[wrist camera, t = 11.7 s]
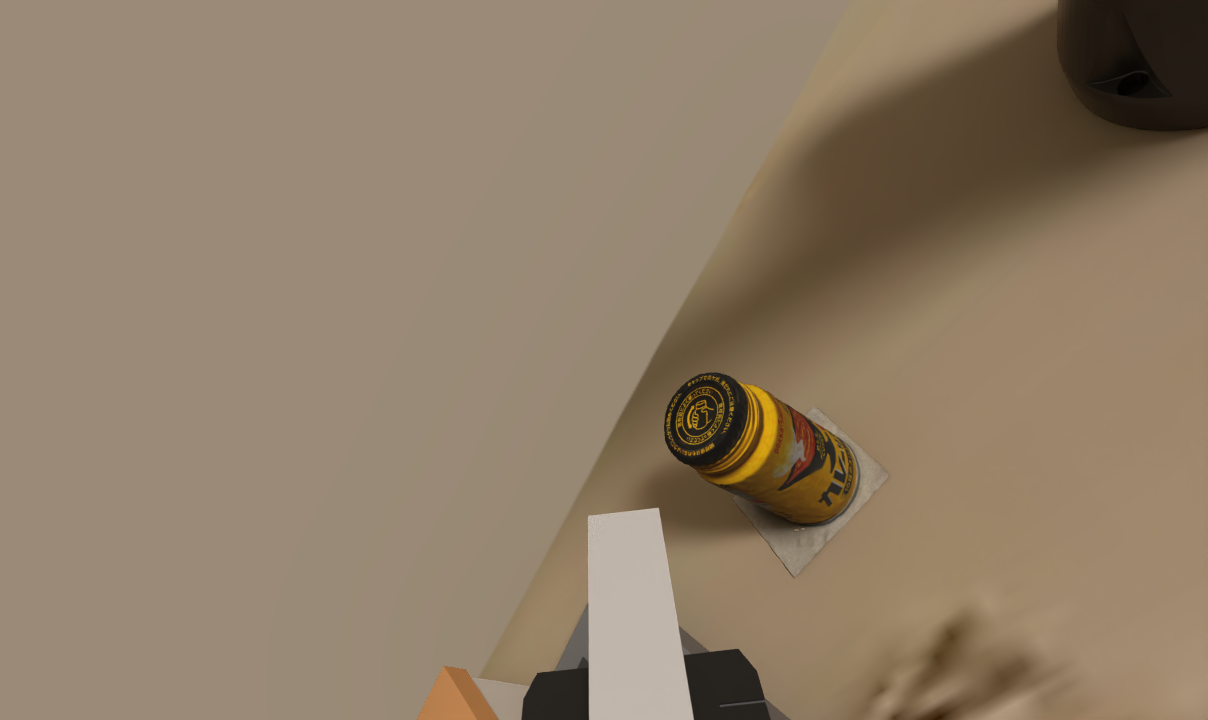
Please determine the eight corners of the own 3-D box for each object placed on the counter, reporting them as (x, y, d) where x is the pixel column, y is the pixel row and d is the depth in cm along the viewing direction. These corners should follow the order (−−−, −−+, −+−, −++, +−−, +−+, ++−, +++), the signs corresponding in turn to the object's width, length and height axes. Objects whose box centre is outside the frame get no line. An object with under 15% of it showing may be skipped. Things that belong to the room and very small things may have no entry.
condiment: (891, 475, 41) (773, 401, 34) (796, 578, 43) (665, 528, 36) (816, 406, 47) (702, 331, 40) (734, 500, 49) (611, 443, 42)
